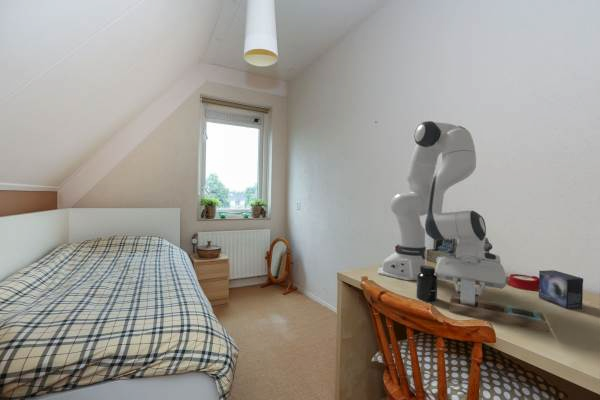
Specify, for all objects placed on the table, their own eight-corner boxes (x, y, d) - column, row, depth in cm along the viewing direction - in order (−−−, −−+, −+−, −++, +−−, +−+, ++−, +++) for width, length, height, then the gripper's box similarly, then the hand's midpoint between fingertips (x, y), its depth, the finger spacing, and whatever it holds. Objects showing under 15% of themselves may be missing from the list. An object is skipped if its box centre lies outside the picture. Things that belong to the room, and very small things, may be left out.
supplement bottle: (435, 305, 97) (436, 270, 96) (414, 300, 100) (415, 267, 100) (438, 298, 103) (438, 266, 102) (418, 295, 106) (418, 263, 106)
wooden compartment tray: (449, 313, 90) (449, 303, 90) (451, 304, 98) (451, 294, 97) (547, 334, 77) (547, 322, 77) (541, 321, 84) (542, 311, 84)
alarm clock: (500, 273, 124) (539, 268, 121) (504, 287, 124) (543, 282, 121) (512, 280, 114) (554, 275, 111) (515, 295, 114) (558, 290, 111)
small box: (536, 297, 105) (537, 270, 105) (552, 297, 105) (553, 269, 105) (566, 309, 94) (567, 278, 94) (583, 308, 95) (584, 278, 95)
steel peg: (459, 310, 91) (460, 279, 90) (460, 306, 94) (461, 276, 94) (474, 313, 88) (475, 282, 88) (474, 309, 92) (475, 278, 92)
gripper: (436, 249, 102) (431, 282, 94) (505, 256, 91) (507, 295, 83) (437, 259, 106) (433, 292, 98) (504, 267, 95) (505, 305, 87)
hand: (467, 293), depth 90 cm, fingers closed on steel peg, 4 cm apart
